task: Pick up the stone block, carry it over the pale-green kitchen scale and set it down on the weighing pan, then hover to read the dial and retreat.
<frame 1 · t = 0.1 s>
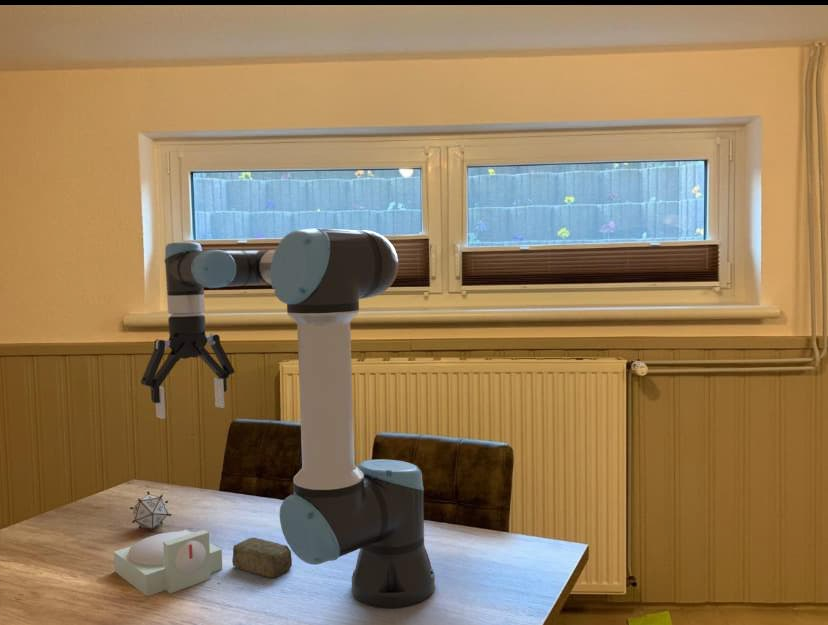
hand: (191, 412, 147), 28 cm above the table, fingers open, 13 cm apart
game die: (151, 529, 155), on the table
stone block: (262, 570, 133), on the table
scale: (168, 570, 133), on the table
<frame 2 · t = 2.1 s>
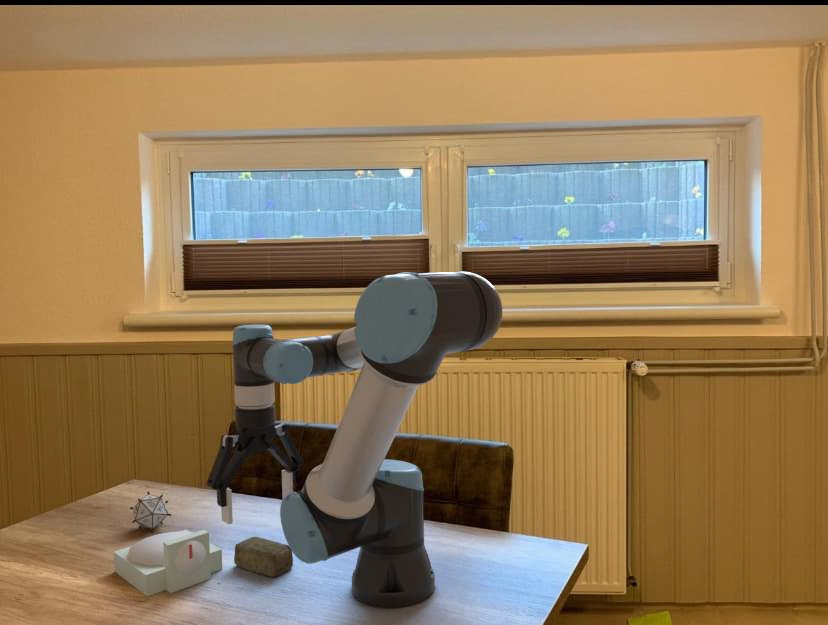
hand: (258, 512, 132), 11 cm above the table, fingers open, 13 cm apart
nothing on the table moved.
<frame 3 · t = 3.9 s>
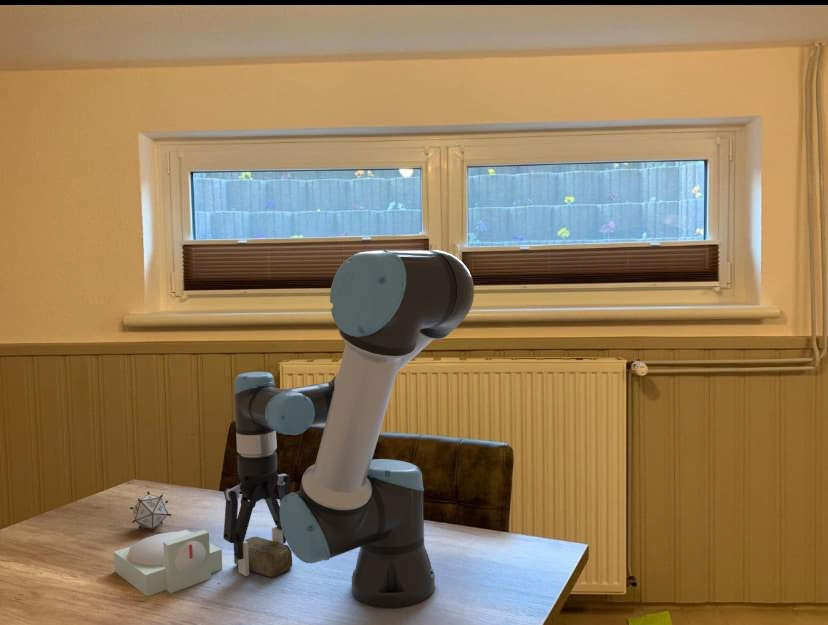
hand: (261, 566, 133), 0 cm above the table, fingers open, 7 cm apart
stone block: (263, 569, 133), on the table, touching gripper
everything else where it was.
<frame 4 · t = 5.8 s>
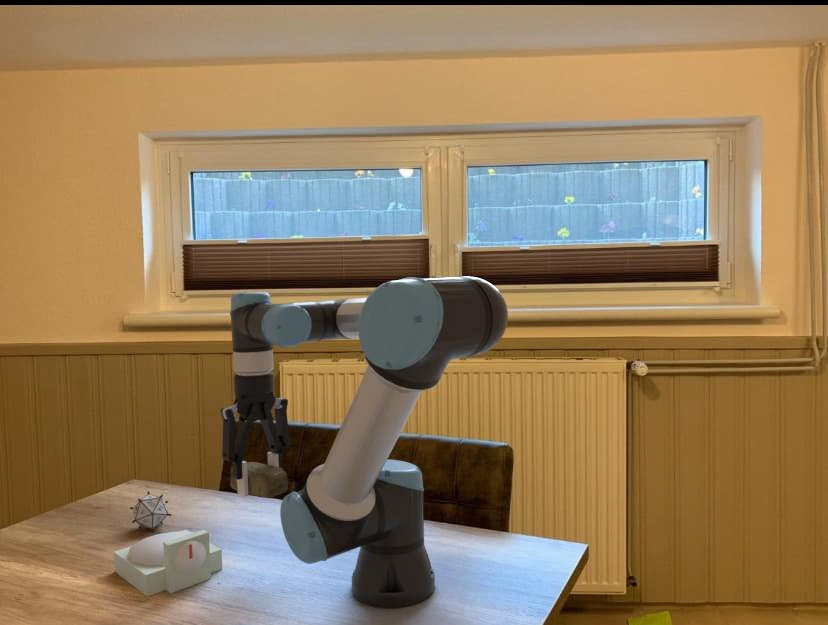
hand: (258, 489, 132), 16 cm above the table, fingers closed on stone block, 6 cm apart
stone block: (259, 492, 132), point 15 cm above the table, touching gripper
everything else where it was.
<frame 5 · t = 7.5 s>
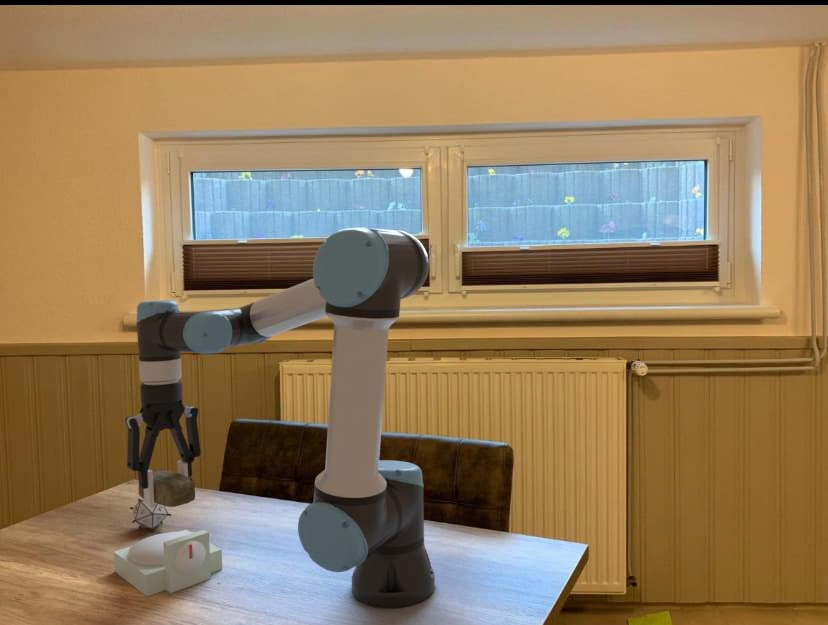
hand: (167, 498, 131), 15 cm above the table, fingers closed on stone block, 6 cm apart
stone block: (167, 501, 131), point 14 cm above the table, touching gripper
everything else where it was.
when the fingers open (6 cm above the table, at t = 10.3 s): stone block stays where it is, resting on scale.
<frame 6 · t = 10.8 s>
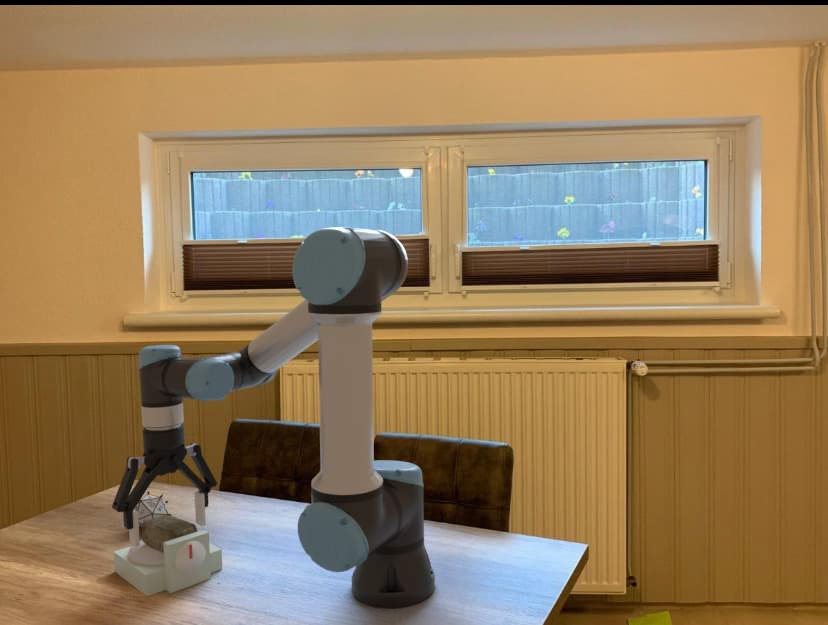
hand: (168, 534, 132), 8 cm above the table, fingers open, 13 cm apart
stone block: (170, 547, 132), point 5 cm above the table, touching scale
everything else where it was.
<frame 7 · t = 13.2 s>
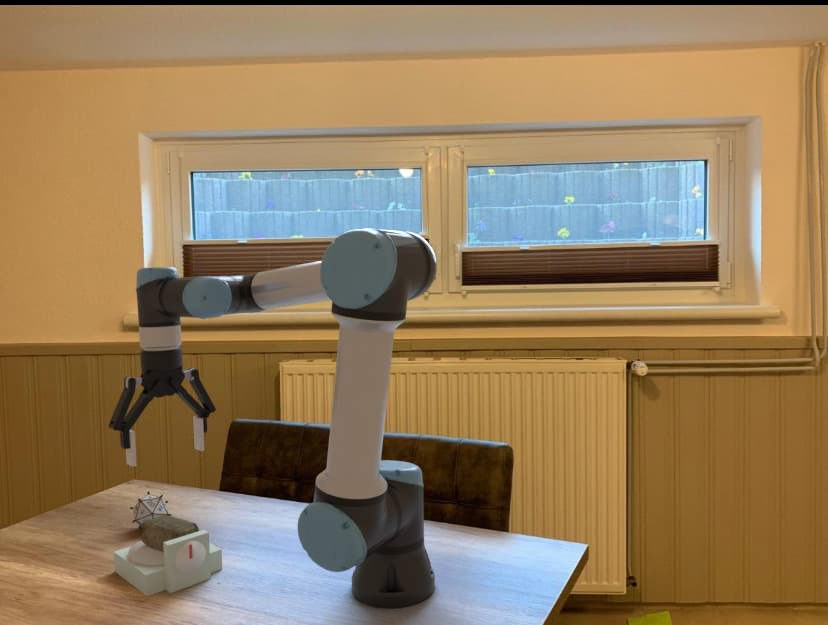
hand: (166, 457, 131), 23 cm above the table, fingers open, 13 cm apart
nothing on the table moved.
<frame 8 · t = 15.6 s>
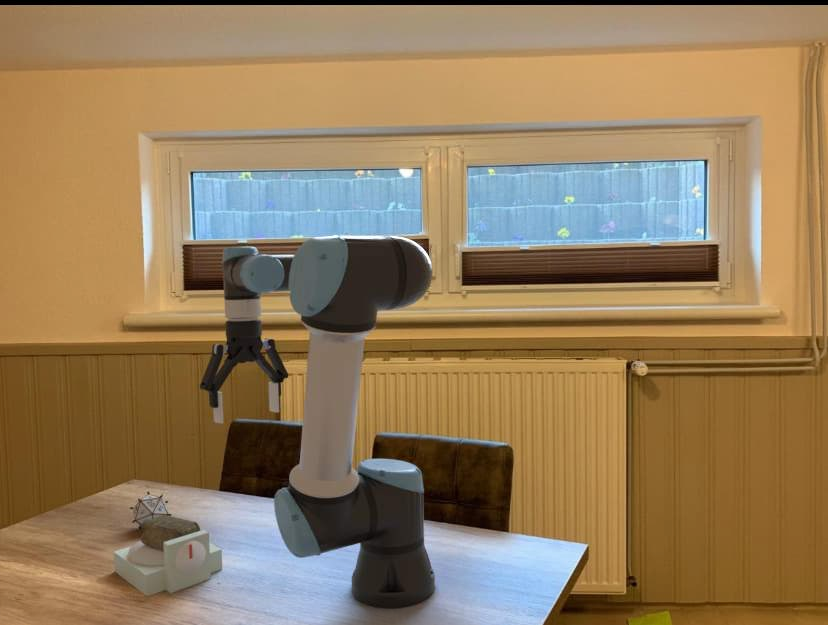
hand: (247, 417, 146), 27 cm above the table, fingers open, 13 cm apart
nothing on the table moved.
at the end: stone block inside the target area on the scale (1.0 cm from its centre), point 4.8 cm above the scale's base; stone block touching scale; the gripper is holding nothing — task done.
